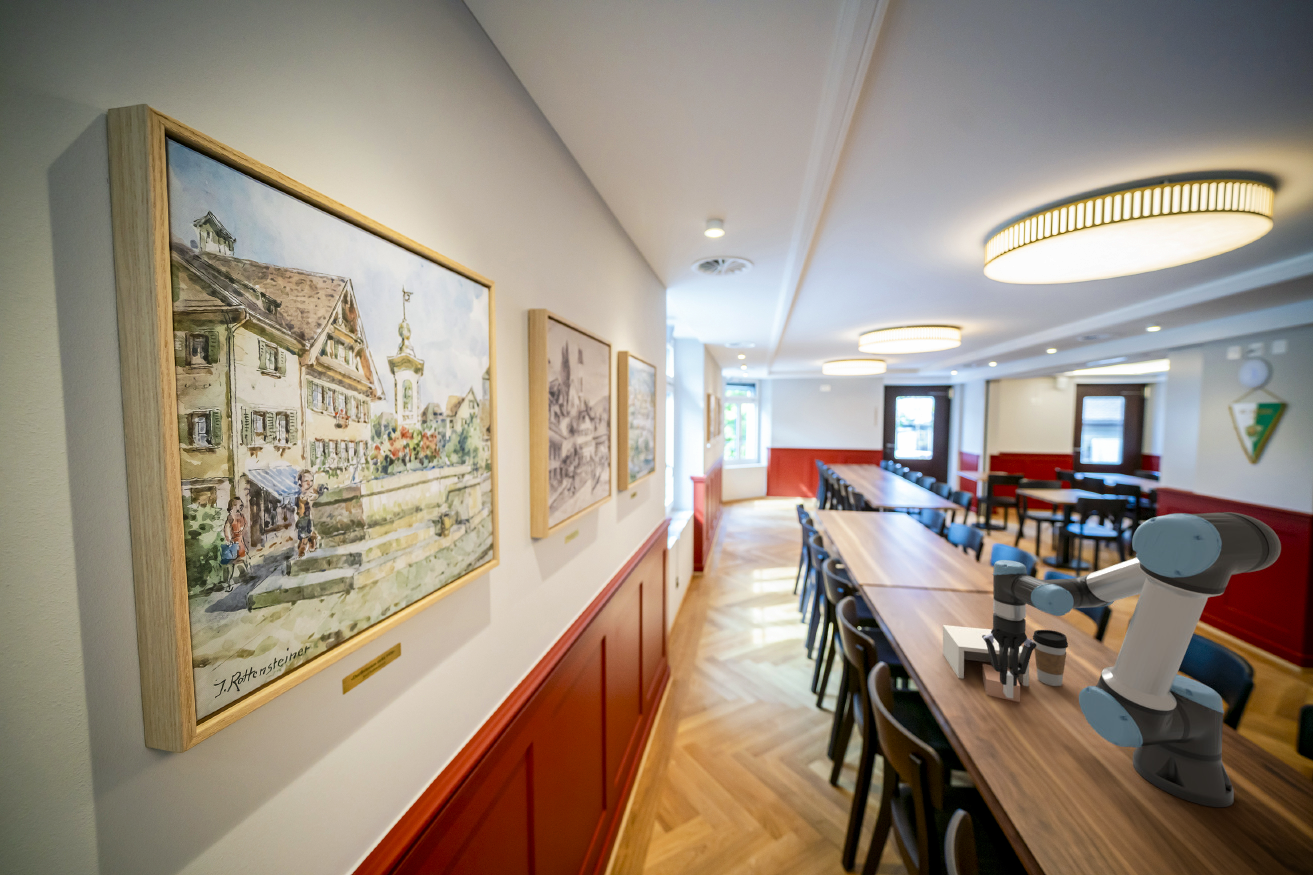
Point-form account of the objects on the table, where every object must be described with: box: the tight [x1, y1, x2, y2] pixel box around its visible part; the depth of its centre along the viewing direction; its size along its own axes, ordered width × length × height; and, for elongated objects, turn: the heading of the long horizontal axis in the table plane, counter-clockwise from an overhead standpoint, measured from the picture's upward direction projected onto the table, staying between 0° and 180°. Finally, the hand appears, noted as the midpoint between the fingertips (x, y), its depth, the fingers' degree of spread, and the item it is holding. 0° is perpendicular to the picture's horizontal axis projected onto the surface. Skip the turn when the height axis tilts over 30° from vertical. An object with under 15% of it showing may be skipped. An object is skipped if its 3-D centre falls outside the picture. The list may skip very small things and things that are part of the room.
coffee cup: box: [1032, 629, 1069, 687], centre depth 146 cm, size 8×8×15 cm
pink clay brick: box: [982, 663, 1021, 703], centre depth 142 cm, size 10×8×5 cm
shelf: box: [942, 624, 1030, 687], centre depth 153 cm, size 16×19×10 cm
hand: (1008, 695), depth 135 cm, fingers closed
